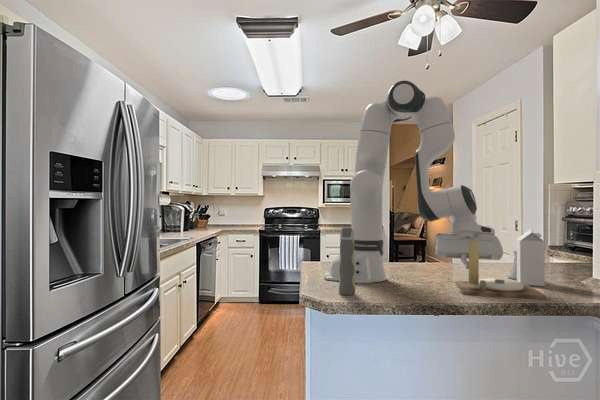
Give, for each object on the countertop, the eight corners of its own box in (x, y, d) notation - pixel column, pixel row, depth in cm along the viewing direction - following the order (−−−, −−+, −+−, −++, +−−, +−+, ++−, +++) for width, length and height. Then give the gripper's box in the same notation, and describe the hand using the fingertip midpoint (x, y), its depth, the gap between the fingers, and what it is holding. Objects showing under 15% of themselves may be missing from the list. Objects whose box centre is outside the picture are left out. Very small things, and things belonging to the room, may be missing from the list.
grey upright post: (355, 292, 114) (356, 227, 114) (354, 296, 109) (354, 228, 109) (340, 291, 115) (340, 226, 115) (337, 295, 110) (338, 227, 111)
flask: (524, 277, 140) (524, 250, 140) (534, 281, 133) (533, 252, 133) (503, 276, 141) (503, 250, 141) (512, 280, 133) (512, 252, 134)
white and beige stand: (503, 281, 125) (503, 239, 125) (534, 290, 112) (533, 243, 112) (457, 283, 122) (457, 239, 122) (483, 292, 109) (483, 243, 109)
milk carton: (520, 285, 126) (520, 228, 126) (516, 281, 132) (516, 227, 133) (544, 287, 123) (544, 229, 123) (540, 282, 130) (539, 228, 130)
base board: (463, 294, 112) (463, 281, 112) (455, 283, 128) (455, 271, 128) (546, 299, 107) (546, 285, 107) (527, 287, 122) (527, 275, 122)
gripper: (434, 227, 128) (437, 260, 118) (499, 229, 123) (508, 263, 113) (432, 239, 132) (435, 272, 123) (495, 241, 127) (503, 275, 118)
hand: (471, 268), depth 118 cm, fingers closed, pressing on white and beige stand
